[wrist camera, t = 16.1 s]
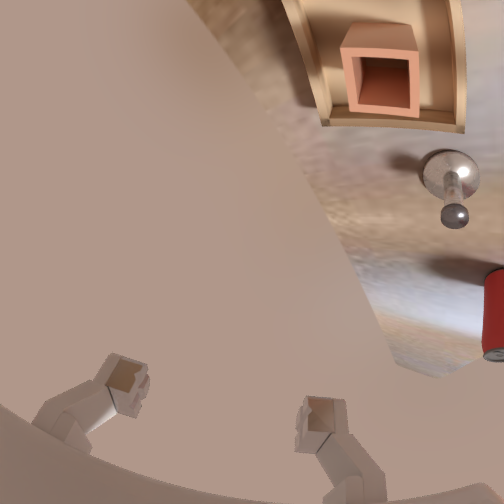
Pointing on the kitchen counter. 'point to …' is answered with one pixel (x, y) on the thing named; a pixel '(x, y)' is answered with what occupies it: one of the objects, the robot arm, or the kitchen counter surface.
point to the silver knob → (452, 184)
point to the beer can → (493, 317)
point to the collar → (381, 69)
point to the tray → (430, 58)
